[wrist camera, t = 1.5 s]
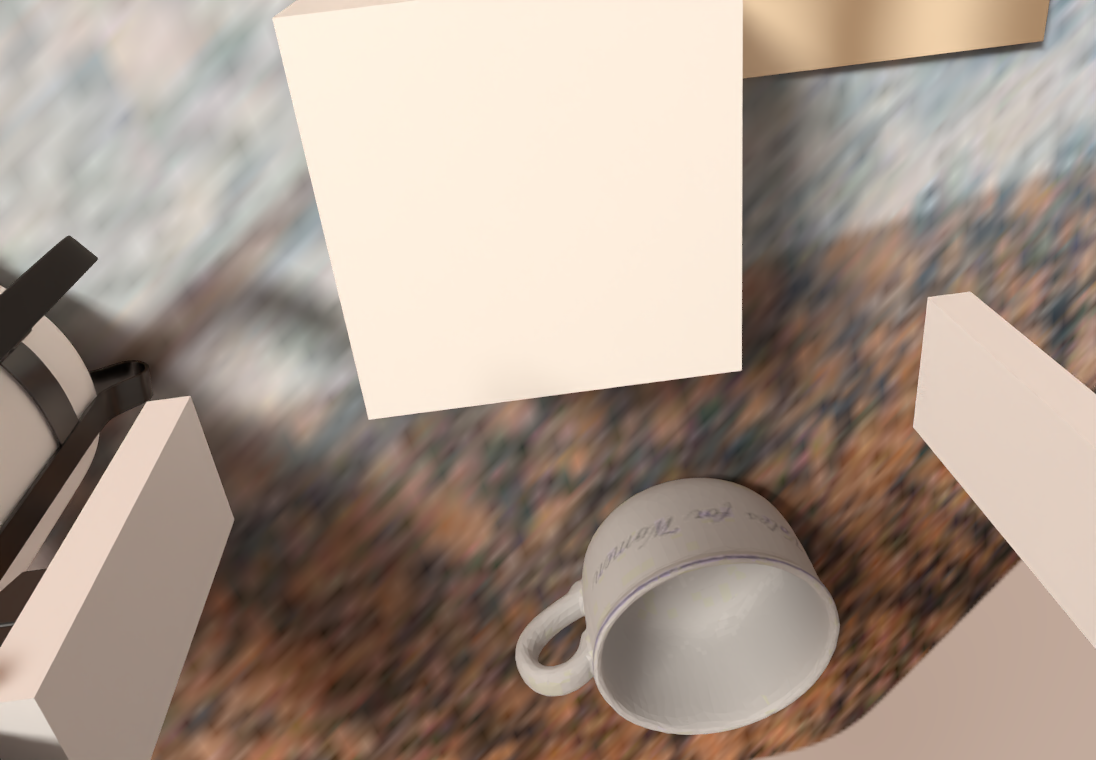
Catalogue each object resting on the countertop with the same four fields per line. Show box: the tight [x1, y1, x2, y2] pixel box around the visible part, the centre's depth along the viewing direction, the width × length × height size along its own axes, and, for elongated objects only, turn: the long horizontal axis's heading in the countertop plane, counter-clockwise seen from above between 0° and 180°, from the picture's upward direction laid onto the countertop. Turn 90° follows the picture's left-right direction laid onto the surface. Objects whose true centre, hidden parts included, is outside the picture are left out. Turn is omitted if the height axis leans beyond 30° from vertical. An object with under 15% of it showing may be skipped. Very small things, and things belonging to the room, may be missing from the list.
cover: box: [272, 0, 743, 420], centre depth 30 cm, size 12×12×10 cm
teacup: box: [515, 478, 840, 735], centre depth 41 cm, size 14×11×8 cm
